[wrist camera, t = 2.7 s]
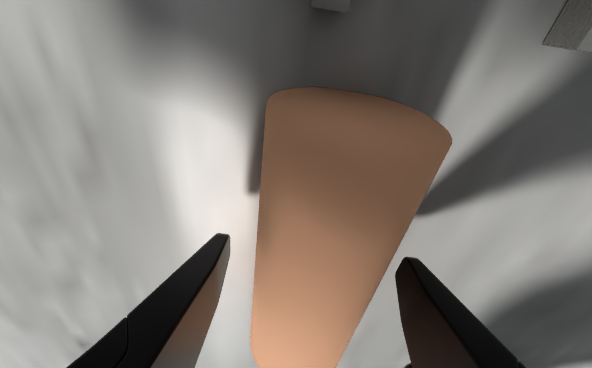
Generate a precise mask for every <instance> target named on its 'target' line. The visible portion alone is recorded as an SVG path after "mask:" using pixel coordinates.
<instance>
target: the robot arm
mask: <svg viewBox="0 0 592 368" xmlns="http://www.w3.org/2000/svg"><path fill="white" fill-rule="evenodd" d="M229 257H230V236H229V235H228V234H222V233H217V234H216V235H214V236H213V237H212V238H211V239H210V240H209V241H208V242H207V243H206V244H205V245H204V246H202V247H201V248H200V249H199V250H198V251H197V252H196V253H195V254H194V255H193V256H192V257H190V258H189V259H188V260H187V261H186V262H185V263H184V264H183V265H182V266H181V267H180V268H178V269H177V270H176V271H175V272H174V273H173V274H172V275H171V276H170V277H169V278H168V279H166V280H165V281H164V282H163V283H162V284H161V285H160V286H159V287H158V288H157V289H155V290H154V291H153V292H152V293H151V294H150V295H149V296H148V297H147V298H146V299H145V300H143V301H142V302H141V303H140V304H139V305H138V306H137V307H136V308H135V309H134V310H133V311H131V312H130V313H129V314H128V315H127V318H124V319H123V320H121V321H120V322H119V323H118V324H117V325H116V326H115V327H114V328H113V329H112V330H110V331H109V332H108V333H107V334H106V335H105V336H104V337H103V338H101V339H100V340H99V341H98V342H97V343H96V344H95V345H93V346H92V347H91V348H90V349H89V350H87V351H86V352H85V353H84V354H83V355H81V356H80V357H79V358H78V359H76V360H75V361H74V362H73V363H71V364H70V365H69V366H68V367H67V368H194V367H195V365H196V362H197V359H198V357H199V354H200V351H201V348H202V346H203V343H204V340H205V338H206V335H207V332H208V329H209V327H210V324H211V321H212V319H213V316H214V313H215V310H216V308H217V305H218V302H219V298H220V294H221V290H222V286H223V282H224V278H225V274H226V270H227V265H228V261H229ZM395 280H396V287H397V294H398V302H399V309H400V316H401V323H402V327H403V332H404V336H405V340H406V344H407V348H408V352H409V356H410V360H411V364H412V368H526V367H525V366H524V365H523V364H522V363H521V362H518V360H517V358H516V357H515V356H514V355H513V354H512V353H511V352H510V351H509V350H508V349H507V348H506V347H505V346H504V345H503V344H502V343H501V342H500V341H499V340H498V339H497V338H496V337H495V336H494V335H493V334H492V333H491V332H490V331H489V330H488V329H487V328H486V327H485V326H484V325H483V324H482V323H481V322H480V321H479V320H478V319H477V318H476V317H475V316H474V315H473V314H472V313H471V312H470V311H469V310H468V309H467V308H466V307H465V306H464V305H463V304H462V303H461V302H460V301H459V300H458V299H457V298H456V297H455V296H454V295H453V294H452V293H451V291H450V290H449V289H448V288H447V287H446V286H445V285H444V284H443V283H442V282H441V281H440V280H439V279H438V278H437V277H436V276H435V275H434V274H433V273H432V272H431V271H430V270H429V269H428V268H427V267H426V266H425V265H424V264H423V263H422V262H421V261H420V260H419V259H417V258H413V257H405V258H403V260H402V262H401V264H400V265H399V267H398V269H397V271H396V274H395Z"/></svg>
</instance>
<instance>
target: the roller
mask: <svg viewBox="0 0 592 368" xmlns="http://www.w3.org/2000/svg"><path fill="white" fill-rule="evenodd" d="M451 144H452V138H451V135H450V133H449V132H448V131H447V130H446V129H445V128H444V127H443V126H442V125H441V124H440V123H439V122H437V121H436V120H434V119H433V118H431V117H429V116H427V115H426V114H424V113H422V112H420V111H418V110H416V109H413V108H411V107H408V106H406V105H403V104H401V103H398V102H395V101H392V100H389V99H385V98H382V97H378V96H374V95H368V94H362V93H355V92H348V91H342V90H335V89H328V88H322V87H300V88H291V89H286V90H282V91H279V92H276V93H274V94H272V95H271V96H270V97H269V98H268V100H267V102H266V112H265V127H264V141H263V156H262V170H261V185H260V200H259V214H258V229H257V243H256V258H255V273H254V287H253V302H252V317H251V331H250V345H251V351H252V354H253V357H254V360H255V362H256V364H257V365H258V367H259V368H336V366H337V365H338V363H339V361H340V359H341V357H342V355H343V353H344V351H345V349H346V347H347V345H348V343H349V341H350V339H351V338H352V336H353V334H354V332H355V330H356V328H357V326H358V324H359V322H360V320H361V318H362V316H363V314H364V312H365V310H366V309H367V307H368V305H369V303H370V301H371V299H372V297H373V295H374V293H375V291H376V289H377V287H378V285H379V283H380V282H381V280H382V278H383V276H384V274H385V272H386V270H387V268H388V266H389V264H390V262H391V260H392V258H393V256H394V254H395V253H396V251H397V249H398V247H399V245H400V243H401V241H402V239H403V237H404V235H405V233H406V231H407V229H408V227H409V225H410V224H411V222H412V220H413V218H414V216H415V214H416V212H417V210H418V208H419V206H420V204H421V202H422V200H423V198H424V197H425V195H426V193H427V191H428V189H429V187H430V185H431V183H432V181H433V179H434V177H435V175H436V173H437V171H438V169H439V168H440V166H441V164H442V162H443V160H444V158H445V156H446V154H447V152H448V150H449V148H450V146H451Z"/></svg>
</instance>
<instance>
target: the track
mask: <svg viewBox="0 0 592 368" xmlns="http://www.w3.org/2000/svg"><path fill="white" fill-rule="evenodd" d="M350 3H351V0H311V6H310V7H314V8H320V9H326V10H332V11H338V12H345V13H349V8H350ZM542 45H549V46H555V47H561V48H567V49H573V50H579V51H586V52H592V0H568V2H567V4H566V5H565V7H564V9H563V10H562V12H561V14H560V15H559V17H558V19H557V20H556V22H555V24H554V25H553V27H552V29H551V31H550V32H549V34H548V36H547V37H546V39H545V41H544V42H543V44H542Z"/></svg>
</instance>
